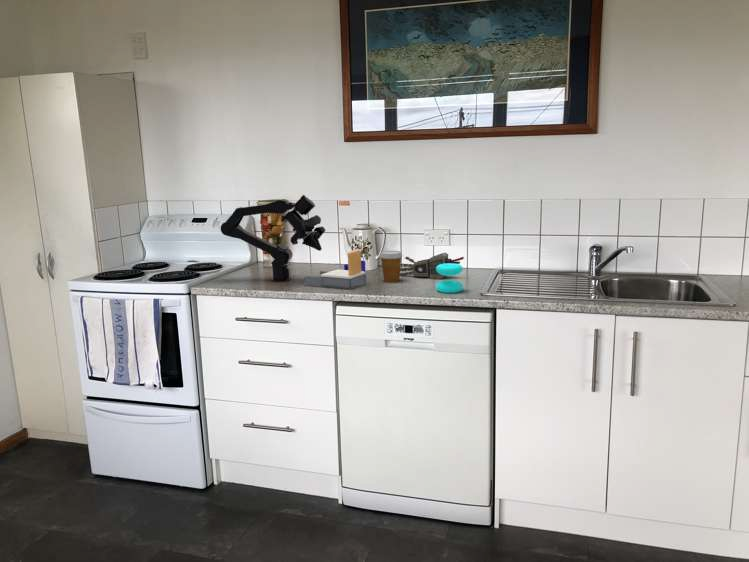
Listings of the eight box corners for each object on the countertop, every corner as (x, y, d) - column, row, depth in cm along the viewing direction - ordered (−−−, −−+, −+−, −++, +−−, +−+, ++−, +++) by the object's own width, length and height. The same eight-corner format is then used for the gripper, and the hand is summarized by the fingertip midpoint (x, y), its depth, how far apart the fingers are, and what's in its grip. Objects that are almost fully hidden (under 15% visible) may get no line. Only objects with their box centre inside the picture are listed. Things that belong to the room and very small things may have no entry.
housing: (305, 285, 243) (304, 275, 242) (321, 280, 253) (321, 270, 252) (351, 289, 232) (350, 279, 232) (366, 283, 243) (365, 274, 242)
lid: (320, 276, 238) (319, 252, 236) (336, 271, 249) (335, 248, 247) (350, 278, 232) (349, 254, 230) (365, 273, 242) (364, 249, 240)
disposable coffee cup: (397, 277, 254) (397, 249, 251) (406, 281, 245) (406, 252, 242) (377, 279, 250) (376, 251, 248) (385, 283, 242) (384, 254, 239)
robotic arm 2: (392, 258, 253) (460, 253, 241) (398, 255, 260) (465, 250, 248) (395, 282, 254) (463, 278, 243) (401, 279, 262) (467, 274, 250)
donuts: (451, 268, 216) (430, 265, 224) (451, 294, 218) (430, 291, 226) (468, 264, 223) (447, 261, 230) (468, 290, 225) (447, 286, 232)
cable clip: (357, 273, 267) (356, 260, 266) (365, 274, 265) (365, 260, 264) (341, 278, 257) (341, 264, 256) (350, 278, 255) (349, 265, 254)
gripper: (294, 211, 238) (318, 239, 235) (320, 207, 254) (343, 234, 251) (280, 230, 243) (303, 258, 240) (306, 225, 259) (329, 251, 256)
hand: (320, 249), depth 247 cm, fingers closed
